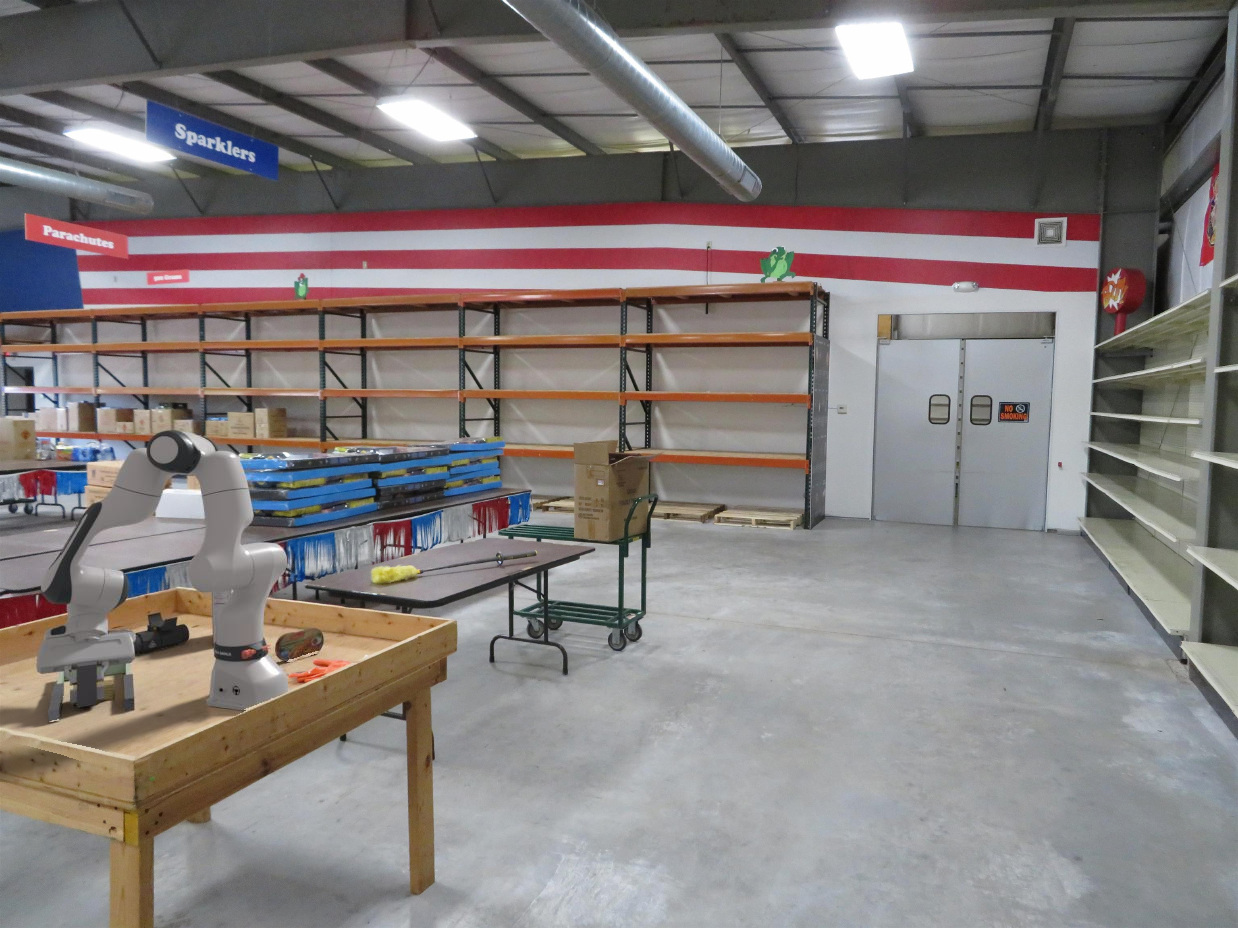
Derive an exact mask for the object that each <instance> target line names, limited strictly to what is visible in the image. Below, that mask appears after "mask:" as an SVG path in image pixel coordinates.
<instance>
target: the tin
mask: <svg viewBox="0 0 1238 928" xmlns="http://www.w3.org/2000/svg"><path fill="white" fill-rule="evenodd" d="M324 641H325V637H324V634H323V632H322V631H321V630H320V629H318V628H315V627H306V628H301V629H299V630H294V631H290V632H287V633H283V634H282V635H281V636H280V637H279V638H278V639H277V640H276V642H275V644H274V645H275V647H274V652H275V656H276V657H277V659H278V660H280V661H283V662H285V661H288V660H289V659H294V658H297V657H300V656H302V655H306V654H308V653H312V652H315V651H319V652H320V651H321V650H322V649H323V646H324Z"/></svg>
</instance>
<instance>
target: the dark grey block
mask: <svg viewBox="0 0 1238 928" xmlns="http://www.w3.org/2000/svg"><path fill="white" fill-rule="evenodd" d="M97 699H104V685H102V686H97V660H95V661H86V662H77V689H73V688H72V689H70V690H69V704H73V703H75V702H77V705H76V708H83V707H91V706H96V705H97V706H98V702H97Z"/></svg>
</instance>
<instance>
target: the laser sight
mask: <svg viewBox="0 0 1238 928" xmlns="http://www.w3.org/2000/svg"><path fill="white" fill-rule="evenodd" d="M147 620H148V624H147V626H146V627H147V628H146V629H147V630H142V631H138V632H134V633H135V634H136V640H135V642H134V643H133V644H134V651H135V655H137V654H140V655H143V654H148V653H152V652H155V651H159V650H164V649H167V648H173V647H177V646H180V644H185V643H187V642H188V641H189V640H190V630H189V627H188V626H187V625H186V624H185V623H182V624H178V617H177V616H175V617H169V618H164V619H163V618H162V612H156V613H150V614H147ZM177 624H178V625H177Z"/></svg>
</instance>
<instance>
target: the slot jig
mask: <svg viewBox="0 0 1238 928" xmlns="http://www.w3.org/2000/svg"><path fill="white" fill-rule="evenodd" d="M64 684H65V682H64V683H60V684H57V683H54V685H53V688H52V692H51V697H50V702H49V706H48V722H49V721H52V720H57V719H59V718H60V719H61V714H60V713H62V709H61V707H63V703H64V702H63V701H64V697H63V696H65V685H64ZM134 687H135V686H134V674H133V673H131V674H128V675H126V674H123V689H124V690H123V693H124V696H123V698H124V699H123V701H124V712H130V711H135V688H134ZM62 702H63V703H62Z"/></svg>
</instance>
